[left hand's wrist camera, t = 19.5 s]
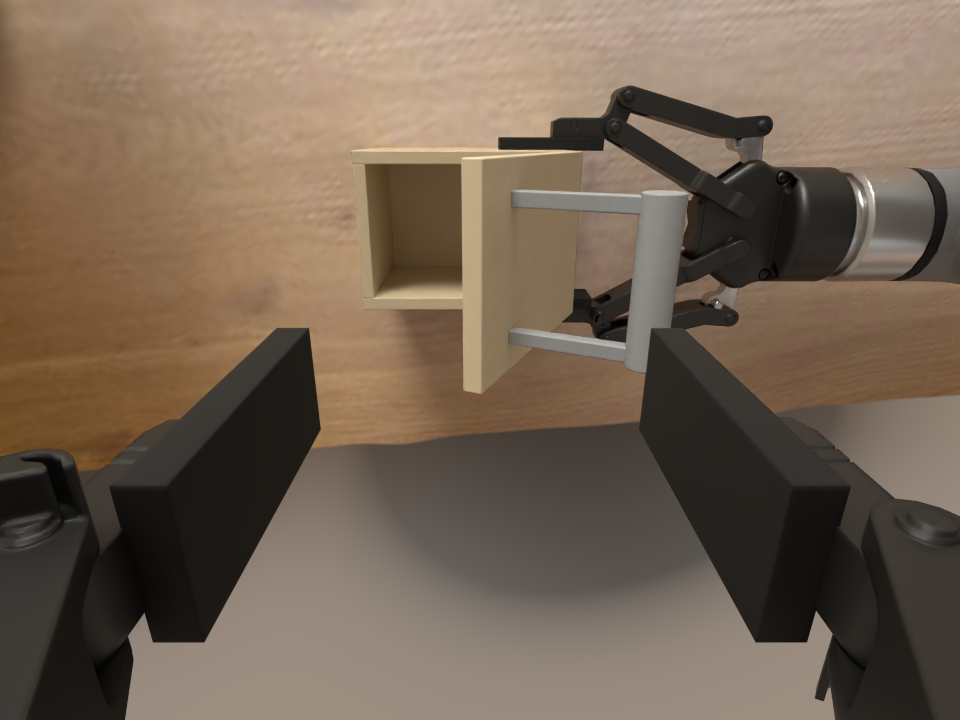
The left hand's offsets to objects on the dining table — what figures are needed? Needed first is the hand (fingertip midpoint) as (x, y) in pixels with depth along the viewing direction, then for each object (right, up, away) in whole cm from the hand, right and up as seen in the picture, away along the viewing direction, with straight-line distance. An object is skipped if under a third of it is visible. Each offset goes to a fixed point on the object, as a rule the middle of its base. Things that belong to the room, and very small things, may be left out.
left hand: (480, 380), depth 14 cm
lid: (+2, +6, +15) cm, 16 cm away
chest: (-1, +12, +31) cm, 33 cm away
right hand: (+1, +10, +25) cm, 26 cm away
